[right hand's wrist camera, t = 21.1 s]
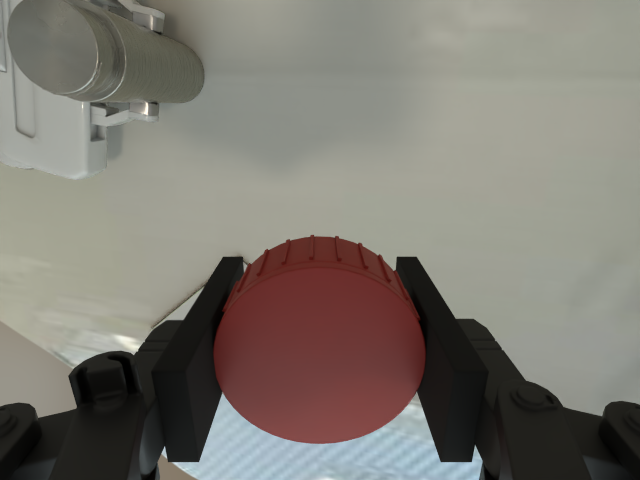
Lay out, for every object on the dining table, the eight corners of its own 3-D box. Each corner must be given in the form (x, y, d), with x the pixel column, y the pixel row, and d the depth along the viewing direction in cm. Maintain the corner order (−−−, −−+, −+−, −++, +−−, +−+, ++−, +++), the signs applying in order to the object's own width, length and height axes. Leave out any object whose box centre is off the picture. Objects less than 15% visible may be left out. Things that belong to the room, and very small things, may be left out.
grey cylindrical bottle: (141, 87, 36) (-10, 73, 19) (157, 31, 34) (7, -38, 18) (193, 112, 37) (92, 119, 20) (212, 58, 35) (118, 18, 19)
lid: (441, 271, 12) (469, 309, 10) (366, 409, 14) (375, 467, 12) (262, 205, 11) (247, 230, 9) (209, 360, 13) (186, 413, 11)
